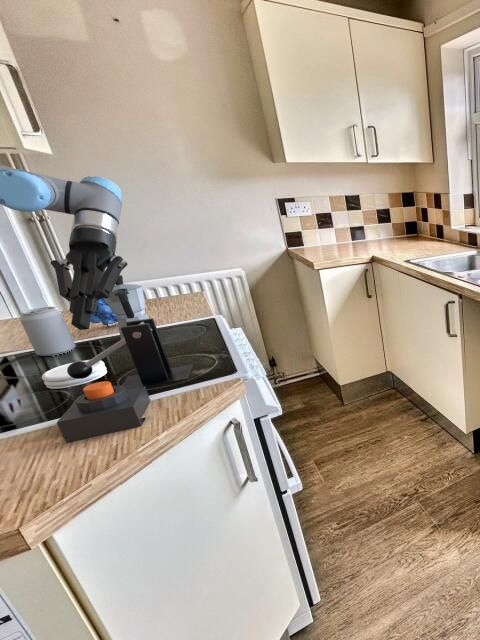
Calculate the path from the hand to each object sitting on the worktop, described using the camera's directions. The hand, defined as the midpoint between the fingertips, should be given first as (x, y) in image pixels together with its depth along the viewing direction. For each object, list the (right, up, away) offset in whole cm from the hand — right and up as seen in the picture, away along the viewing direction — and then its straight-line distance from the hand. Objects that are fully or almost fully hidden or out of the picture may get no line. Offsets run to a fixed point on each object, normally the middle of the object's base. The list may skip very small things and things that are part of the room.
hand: (80, 326), depth 88 cm
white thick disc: (-6, -12, +6) cm, 15 cm away
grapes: (-34, +1, +43) cm, 55 cm away
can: (-30, -6, +24) cm, 39 cm away
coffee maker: (-16, -2, +33) cm, 37 cm away
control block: (+17, -18, -11) cm, 27 cm away
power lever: (+8, -6, 0) cm, 10 cm away
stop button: (+17, -13, -13) cm, 25 cm away
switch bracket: (+13, -12, +5) cm, 18 cm away
